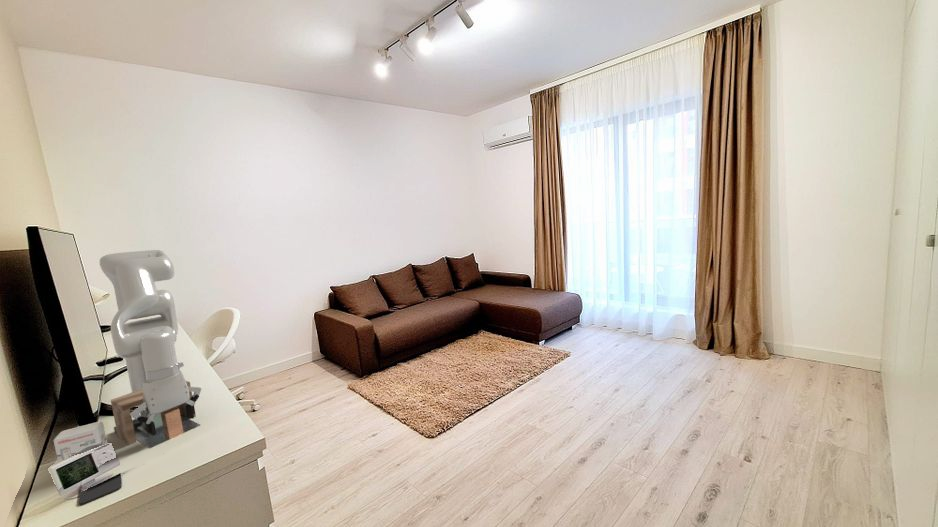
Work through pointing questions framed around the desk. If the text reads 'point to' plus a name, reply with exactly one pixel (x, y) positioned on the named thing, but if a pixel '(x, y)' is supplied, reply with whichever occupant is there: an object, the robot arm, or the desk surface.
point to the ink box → (79, 440)
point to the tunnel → (123, 412)
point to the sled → (166, 428)
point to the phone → (101, 490)
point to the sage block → (156, 419)
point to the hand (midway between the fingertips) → (172, 425)
